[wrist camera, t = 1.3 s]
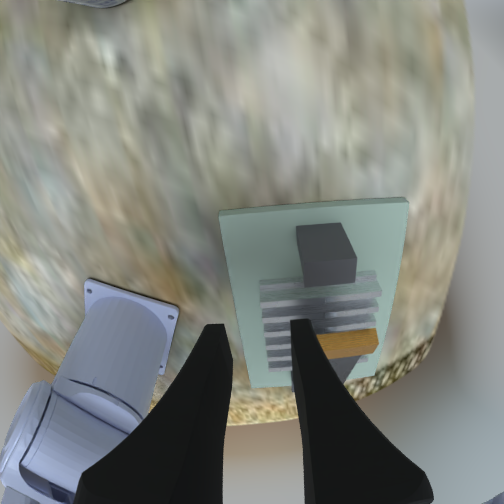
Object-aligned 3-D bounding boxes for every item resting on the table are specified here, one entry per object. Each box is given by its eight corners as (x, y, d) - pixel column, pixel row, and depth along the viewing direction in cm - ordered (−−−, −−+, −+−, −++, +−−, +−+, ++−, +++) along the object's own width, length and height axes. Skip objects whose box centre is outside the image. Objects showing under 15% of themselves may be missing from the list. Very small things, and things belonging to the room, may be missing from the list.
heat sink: (361, 345, 25) (366, 363, 24) (268, 355, 26) (268, 374, 24) (374, 269, 21) (382, 287, 19) (259, 280, 22) (259, 299, 20)
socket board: (372, 369, 28) (383, 408, 24) (251, 381, 29) (250, 423, 25) (404, 197, 19) (437, 233, 15) (219, 210, 20) (209, 251, 16)
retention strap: (339, 385, 25) (341, 396, 25) (294, 390, 26) (295, 401, 25) (375, 324, 15) (379, 343, 14) (297, 332, 15) (299, 353, 15)
